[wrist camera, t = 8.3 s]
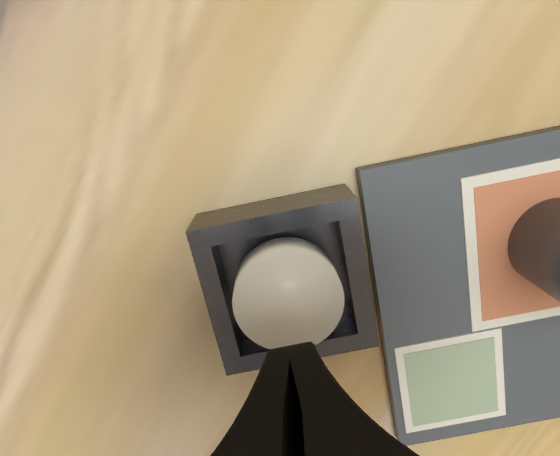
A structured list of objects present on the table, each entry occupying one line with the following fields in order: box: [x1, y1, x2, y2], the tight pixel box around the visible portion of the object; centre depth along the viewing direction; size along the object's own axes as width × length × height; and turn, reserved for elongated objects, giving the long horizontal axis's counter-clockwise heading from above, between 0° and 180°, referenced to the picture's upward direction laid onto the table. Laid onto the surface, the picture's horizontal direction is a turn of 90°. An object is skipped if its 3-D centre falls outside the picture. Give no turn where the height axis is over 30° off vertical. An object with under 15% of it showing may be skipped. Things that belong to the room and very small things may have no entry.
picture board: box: [356, 126, 560, 446], centre depth 20 cm, size 15×14×1 cm
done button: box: [232, 237, 344, 349], centre depth 17 cm, size 4×4×2 cm
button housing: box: [186, 184, 379, 375], centre depth 19 cm, size 7×7×3 cm
